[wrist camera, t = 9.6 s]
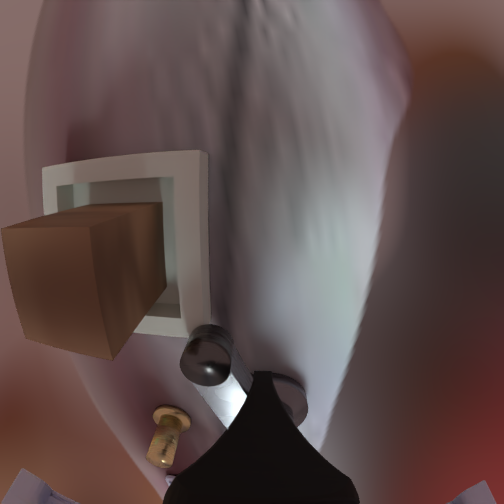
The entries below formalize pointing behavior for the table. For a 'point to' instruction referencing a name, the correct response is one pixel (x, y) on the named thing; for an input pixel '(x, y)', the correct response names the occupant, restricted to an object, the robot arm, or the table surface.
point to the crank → (218, 371)
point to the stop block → (87, 274)
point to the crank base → (178, 421)
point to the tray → (174, 222)
